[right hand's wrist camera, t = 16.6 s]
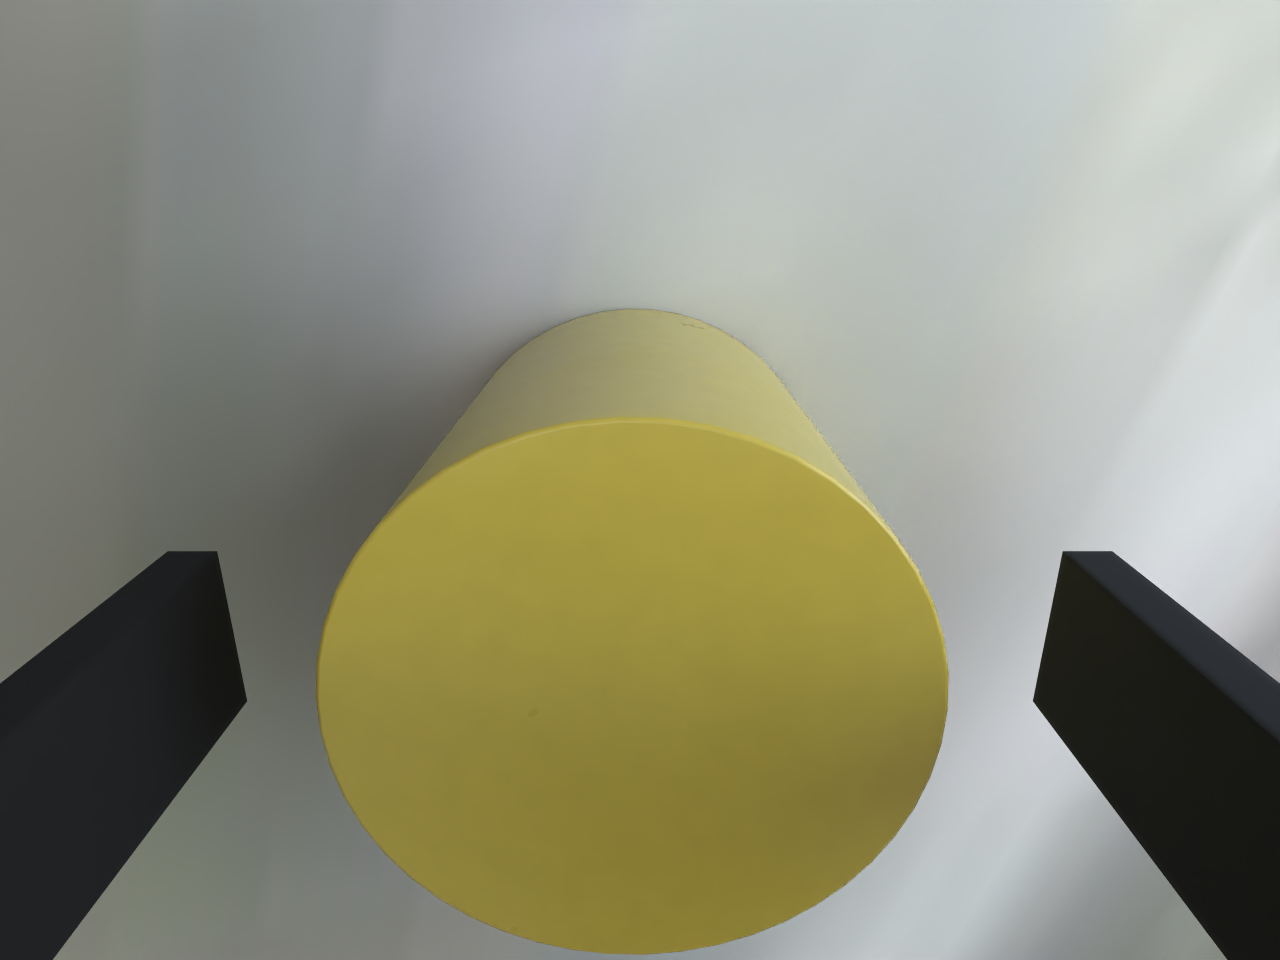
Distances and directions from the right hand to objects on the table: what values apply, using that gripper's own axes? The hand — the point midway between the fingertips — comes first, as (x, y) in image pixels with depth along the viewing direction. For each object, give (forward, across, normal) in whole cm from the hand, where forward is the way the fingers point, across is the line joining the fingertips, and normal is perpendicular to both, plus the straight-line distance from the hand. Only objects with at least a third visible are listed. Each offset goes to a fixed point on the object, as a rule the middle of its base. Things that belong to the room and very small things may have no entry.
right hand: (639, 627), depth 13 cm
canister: (+7, 0, 0) cm, 7 cm away
